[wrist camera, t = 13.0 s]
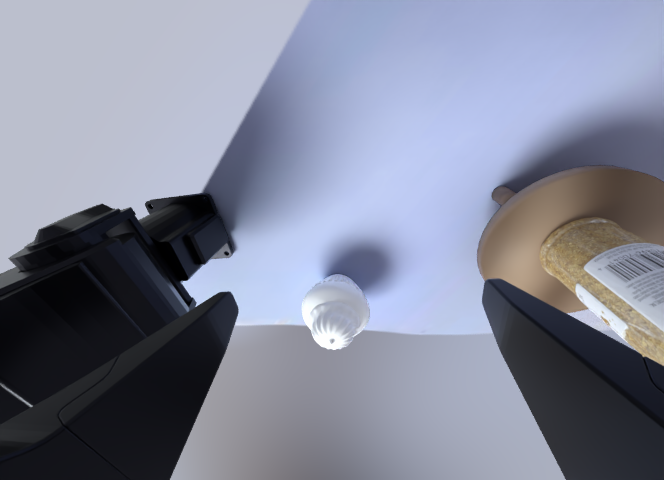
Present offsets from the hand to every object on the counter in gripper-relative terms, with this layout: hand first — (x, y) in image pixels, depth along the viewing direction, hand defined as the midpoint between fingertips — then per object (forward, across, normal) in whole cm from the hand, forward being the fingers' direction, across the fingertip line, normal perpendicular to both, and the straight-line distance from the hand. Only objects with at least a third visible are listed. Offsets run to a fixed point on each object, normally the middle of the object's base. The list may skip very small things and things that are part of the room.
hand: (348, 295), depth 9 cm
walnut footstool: (+13, -14, +5) cm, 20 cm away
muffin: (+13, +3, +10) cm, 17 cm away
